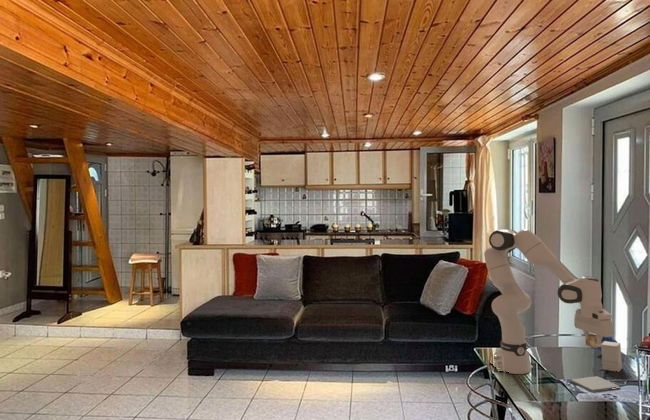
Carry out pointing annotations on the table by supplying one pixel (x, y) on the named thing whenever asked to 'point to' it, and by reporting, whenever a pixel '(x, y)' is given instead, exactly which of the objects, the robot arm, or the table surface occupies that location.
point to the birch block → (591, 340)
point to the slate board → (594, 383)
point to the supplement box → (611, 356)
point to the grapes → (608, 339)
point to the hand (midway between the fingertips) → (593, 342)
